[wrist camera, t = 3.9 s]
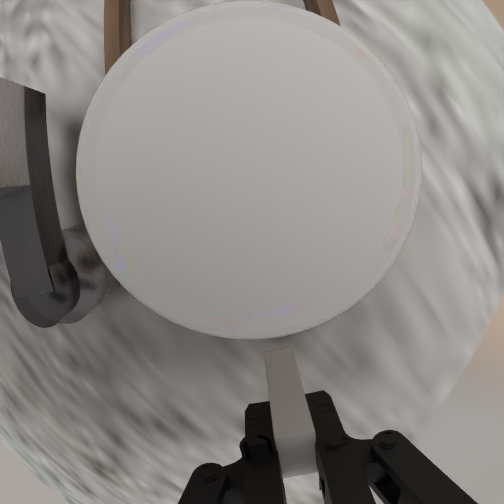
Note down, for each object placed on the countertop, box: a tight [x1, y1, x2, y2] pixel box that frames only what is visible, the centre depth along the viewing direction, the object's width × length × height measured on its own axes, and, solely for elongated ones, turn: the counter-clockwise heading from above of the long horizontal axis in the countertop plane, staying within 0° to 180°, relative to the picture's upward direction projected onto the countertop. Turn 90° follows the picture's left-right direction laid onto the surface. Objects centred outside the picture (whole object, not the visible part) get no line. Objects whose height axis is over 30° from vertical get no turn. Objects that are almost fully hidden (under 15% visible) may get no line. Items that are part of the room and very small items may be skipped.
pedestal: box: [59, 223, 120, 324], centre depth 17 cm, size 5×5×5 cm
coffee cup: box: [76, 1, 422, 340], centre depth 13 cm, size 9×9×12 cm
